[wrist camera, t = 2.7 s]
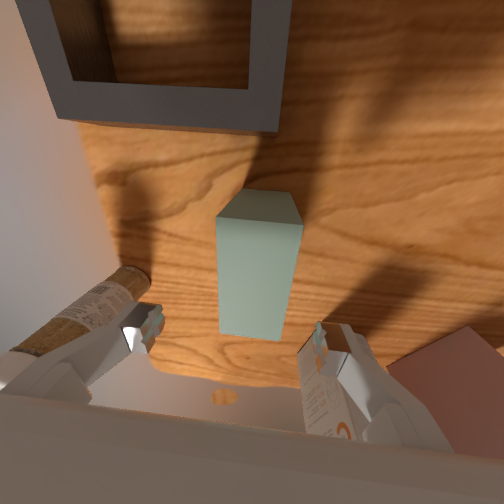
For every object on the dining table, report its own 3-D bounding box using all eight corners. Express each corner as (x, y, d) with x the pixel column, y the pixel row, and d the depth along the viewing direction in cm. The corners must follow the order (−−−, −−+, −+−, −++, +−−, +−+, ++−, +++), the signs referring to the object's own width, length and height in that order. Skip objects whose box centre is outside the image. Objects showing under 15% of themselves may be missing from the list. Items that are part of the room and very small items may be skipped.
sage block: (290, 192, 17) (304, 225, 9) (277, 272, 21) (279, 341, 13) (242, 188, 17) (215, 216, 9) (239, 267, 22) (219, 333, 14)
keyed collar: (301, -88, 10) (315, -217, 7) (277, 137, 15) (278, 132, 12) (49, -85, 11) (-56, -196, 8) (105, 126, 16) (57, 118, 13)
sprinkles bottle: (122, 289, 25) (-11, 407, 13) (114, 261, 23) (-53, 373, 11) (154, 294, 25) (48, 419, 13) (149, 267, 23) (18, 387, 11)
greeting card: (386, 370, 28) (489, 568, 14) (381, 338, 25) (506, 551, 11) (482, 359, 24) (724, 599, 11) (489, 322, 21) (830, 588, 8)
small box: (333, 366, 28) (373, 509, 17) (295, 354, 28) (310, 492, 17) (366, 334, 25) (446, 492, 13) (322, 320, 24) (366, 470, 13)
